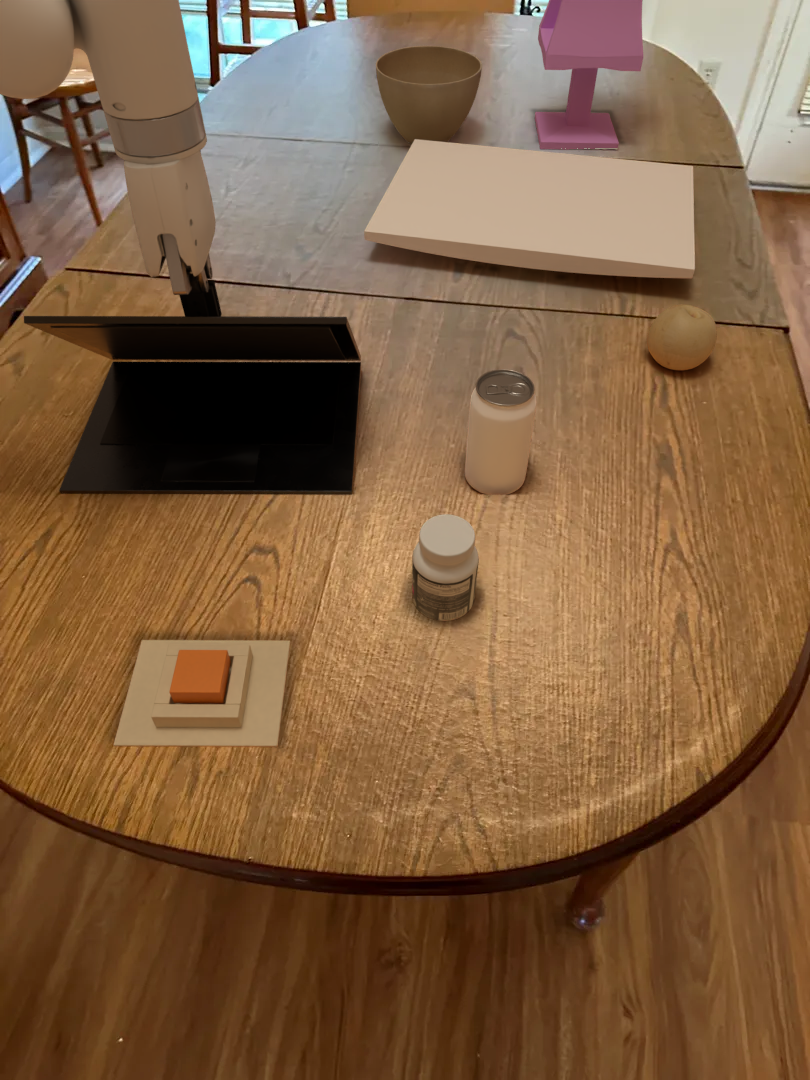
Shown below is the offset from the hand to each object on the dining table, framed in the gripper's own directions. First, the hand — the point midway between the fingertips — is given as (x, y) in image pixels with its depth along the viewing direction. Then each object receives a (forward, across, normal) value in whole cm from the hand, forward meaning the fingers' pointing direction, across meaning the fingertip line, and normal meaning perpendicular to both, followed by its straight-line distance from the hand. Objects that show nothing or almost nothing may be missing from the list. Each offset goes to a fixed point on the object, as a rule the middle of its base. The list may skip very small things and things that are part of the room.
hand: (205, 321), depth 78 cm
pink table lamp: (+16, -83, +51) cm, 98 cm away
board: (+16, -48, +40) cm, 64 cm away
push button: (+12, +34, +3) cm, 36 cm away
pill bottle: (+15, +24, +23) cm, 37 cm away
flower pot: (+16, -81, +24) cm, 86 cm away
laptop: (+15, 0, -1) cm, 15 cm away
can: (+15, +7, +29) cm, 34 cm away
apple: (+16, -14, +53) cm, 57 cm away
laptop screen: (+5, -3, -1) cm, 6 cm away
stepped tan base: (+14, +34, +3) cm, 37 cm away
